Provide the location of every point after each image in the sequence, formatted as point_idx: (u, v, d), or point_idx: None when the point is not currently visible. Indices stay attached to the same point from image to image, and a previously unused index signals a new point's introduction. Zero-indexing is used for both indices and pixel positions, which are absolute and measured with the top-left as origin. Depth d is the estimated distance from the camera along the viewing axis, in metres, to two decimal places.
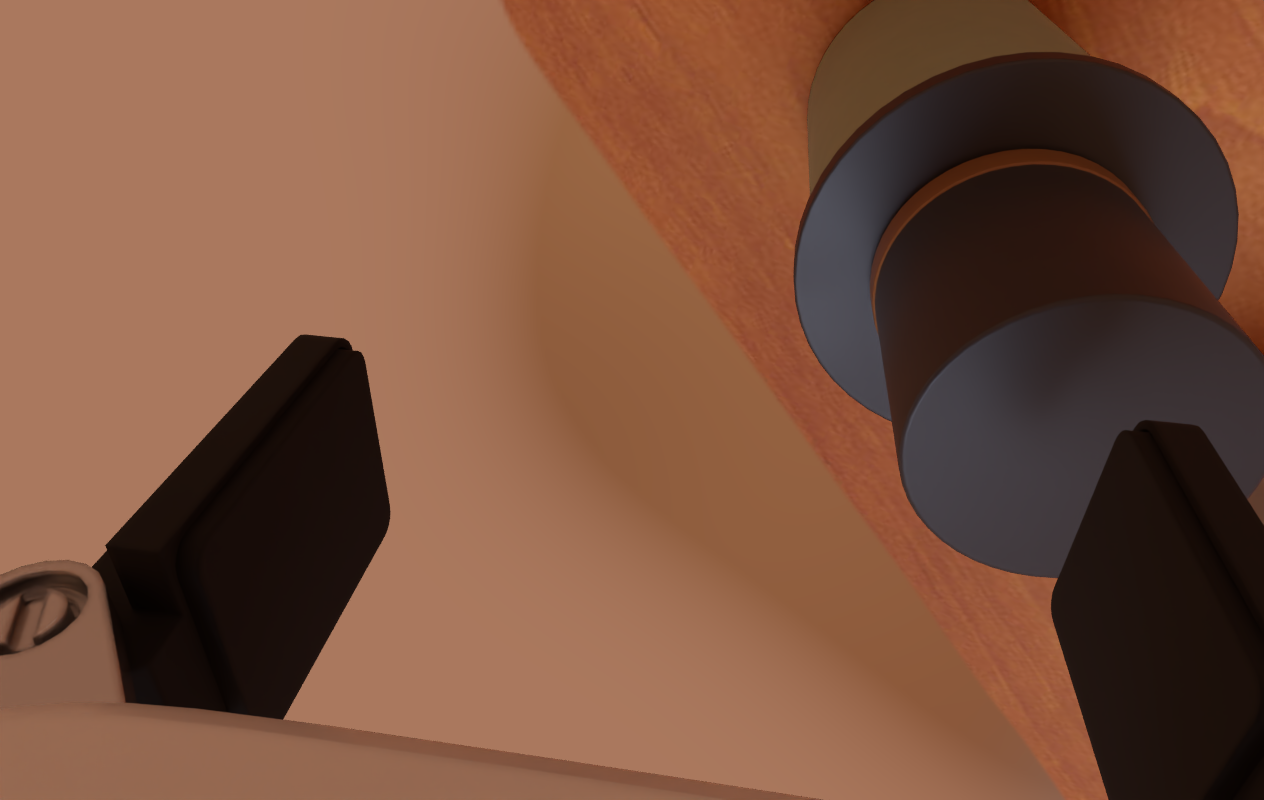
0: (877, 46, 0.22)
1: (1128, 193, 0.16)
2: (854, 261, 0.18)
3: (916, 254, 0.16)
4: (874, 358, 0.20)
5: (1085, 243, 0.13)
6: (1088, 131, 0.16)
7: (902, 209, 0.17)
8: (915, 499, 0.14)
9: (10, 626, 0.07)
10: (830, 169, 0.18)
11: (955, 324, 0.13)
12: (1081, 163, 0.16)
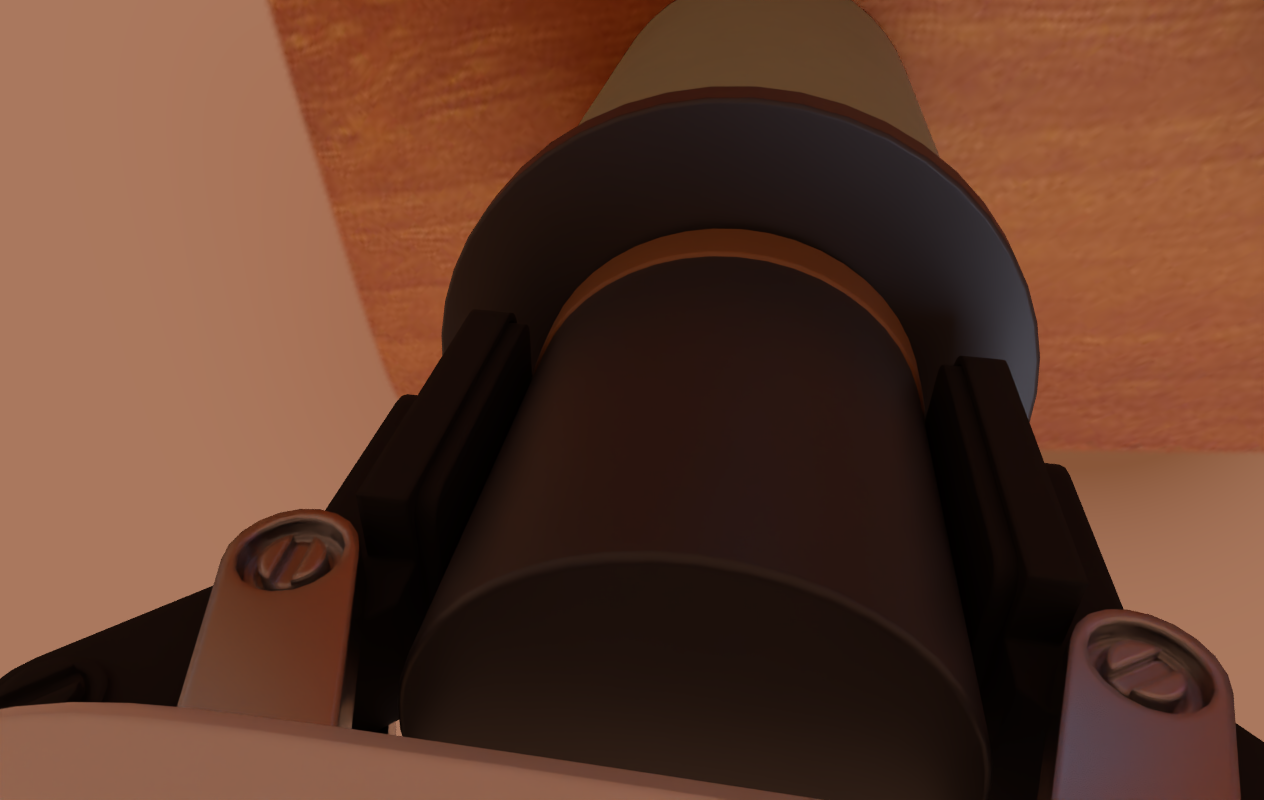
0: None
1: (641, 266, 0.11)
2: None
3: None
4: None
5: None
6: (573, 246, 0.12)
7: None
8: None
9: (278, 566, 0.08)
10: None
11: None
12: (581, 292, 0.11)
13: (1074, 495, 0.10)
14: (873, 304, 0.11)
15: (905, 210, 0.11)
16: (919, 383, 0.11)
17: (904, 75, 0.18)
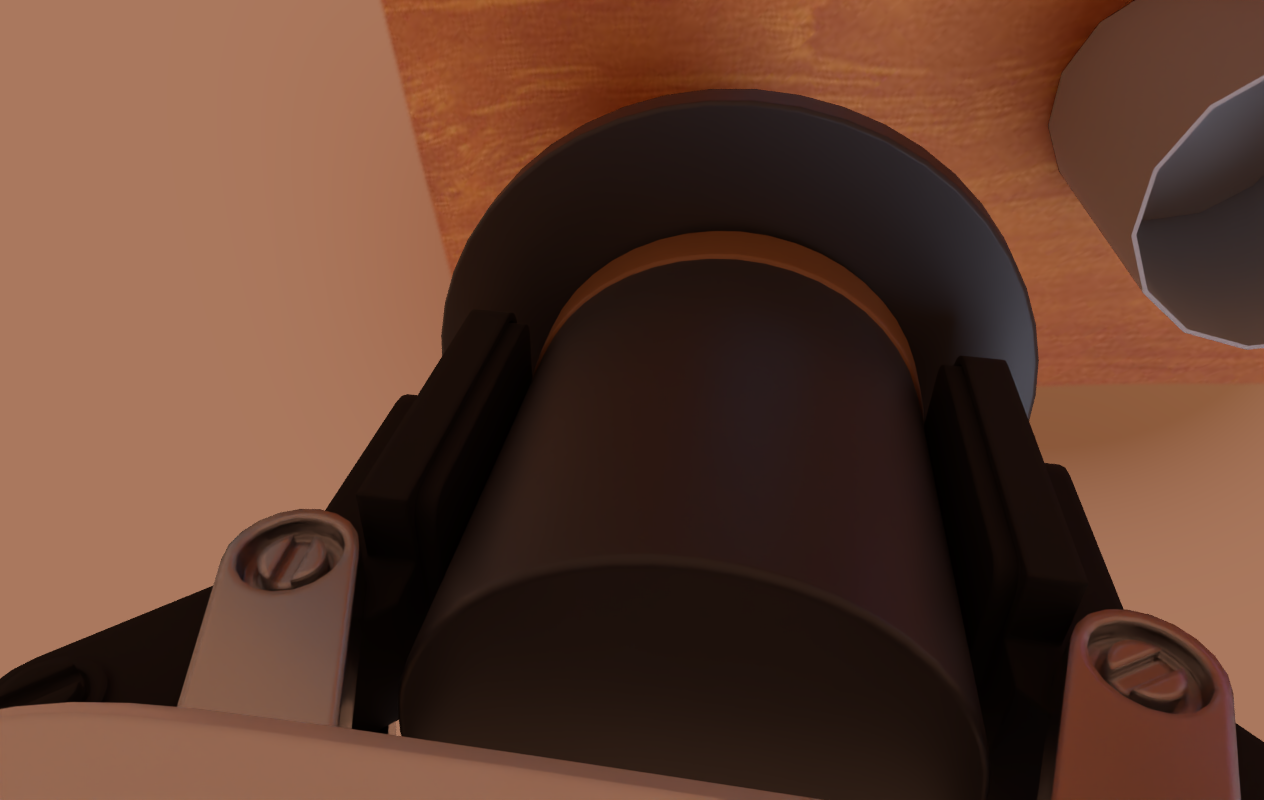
0: None
1: (641, 269, 0.11)
2: None
3: None
4: None
5: (467, 525, 0.09)
6: (572, 249, 0.12)
7: None
8: None
9: (279, 566, 0.08)
10: None
11: None
12: (581, 295, 0.11)
13: (1074, 495, 0.10)
14: (872, 306, 0.11)
15: (904, 212, 0.11)
16: (918, 385, 0.11)
17: None
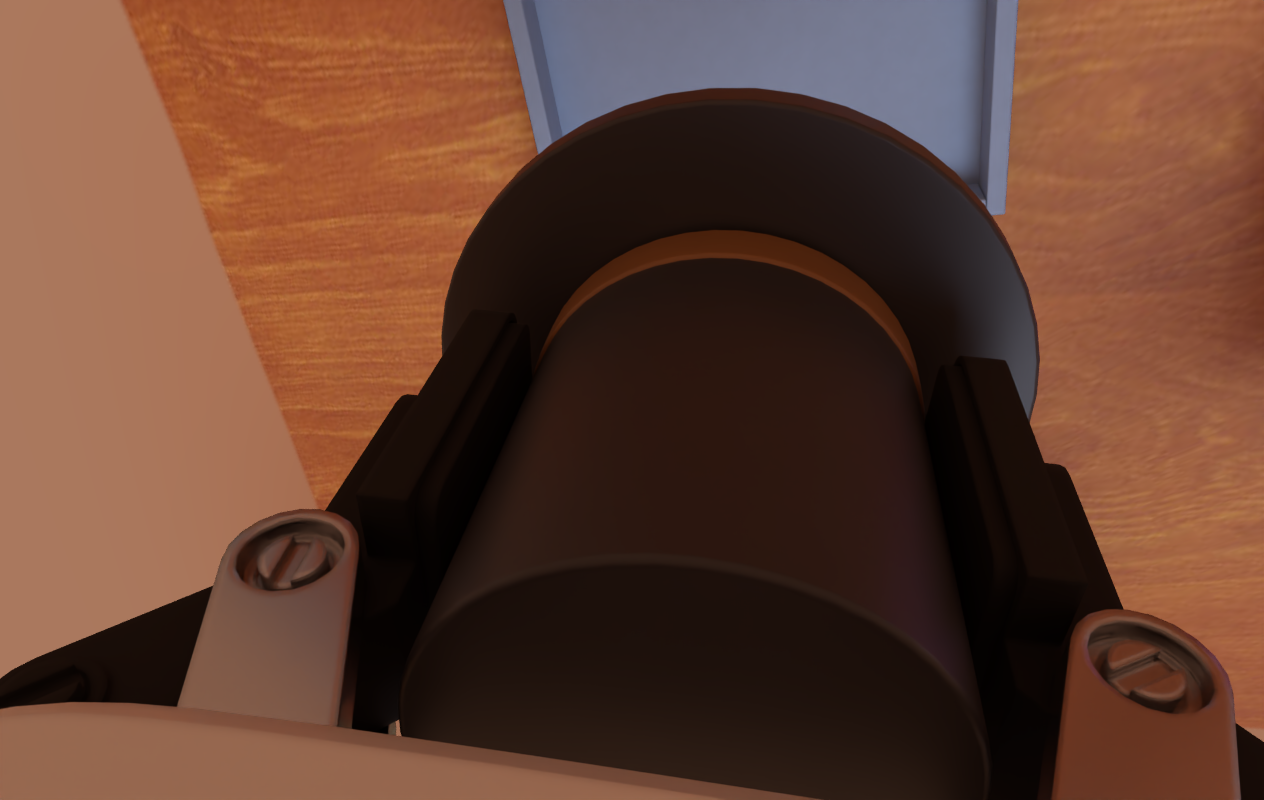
0: None
1: (641, 268, 0.11)
2: None
3: None
4: None
5: (467, 525, 0.09)
6: (573, 248, 0.12)
7: None
8: None
9: (279, 566, 0.08)
10: None
11: None
12: (581, 294, 0.11)
13: (1074, 495, 0.10)
14: (873, 306, 0.11)
15: (905, 212, 0.11)
16: (919, 385, 0.11)
17: None
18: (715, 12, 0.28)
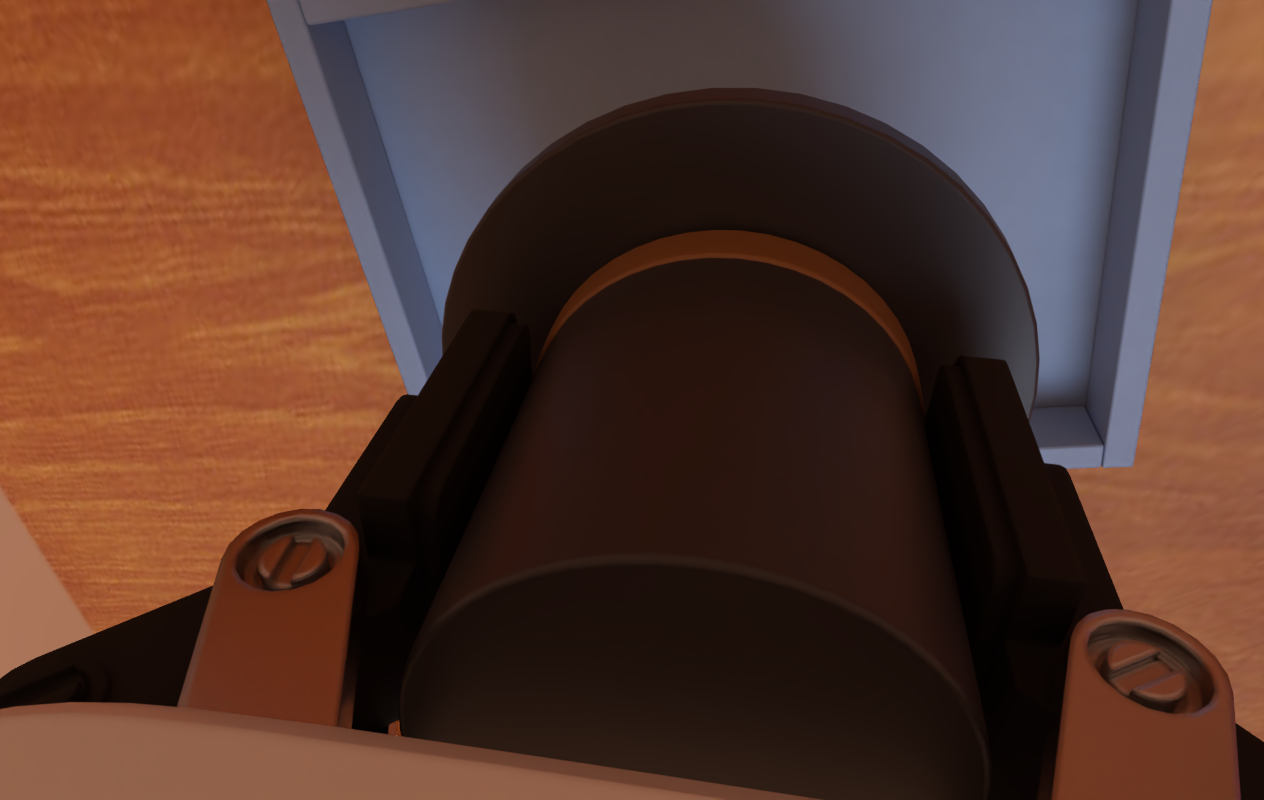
0: None
1: (641, 268, 0.11)
2: None
3: None
4: None
5: (467, 525, 0.09)
6: (573, 248, 0.12)
7: None
8: None
9: (279, 566, 0.08)
10: None
11: None
12: (581, 294, 0.11)
13: (1074, 495, 0.10)
14: (873, 305, 0.11)
15: (906, 211, 0.11)
16: (919, 384, 0.11)
17: None
18: None
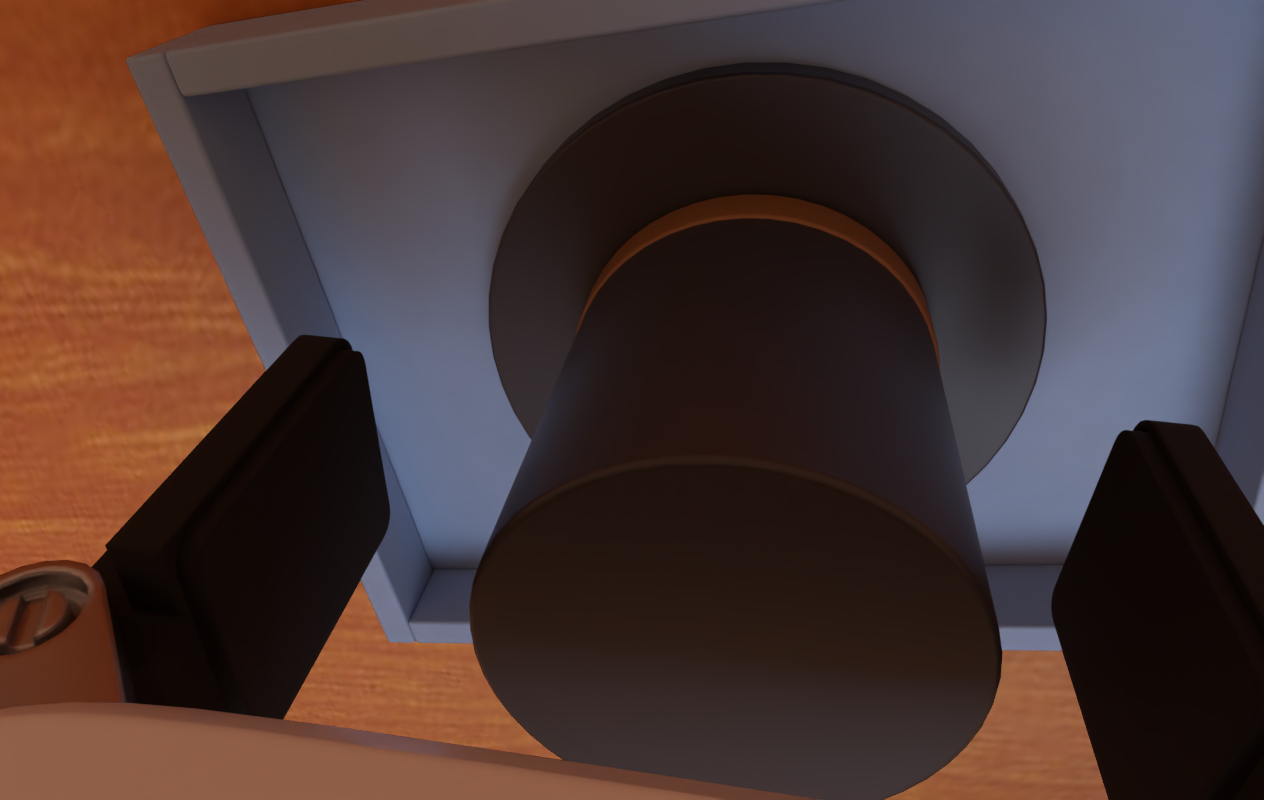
0: None
1: (679, 228, 0.12)
2: None
3: None
4: None
5: (526, 452, 0.10)
6: (613, 212, 0.13)
7: None
8: None
9: (10, 626, 0.07)
10: None
11: None
12: (622, 254, 0.12)
13: None
14: (893, 264, 0.12)
15: (924, 177, 0.12)
16: (935, 338, 0.12)
17: None
18: None
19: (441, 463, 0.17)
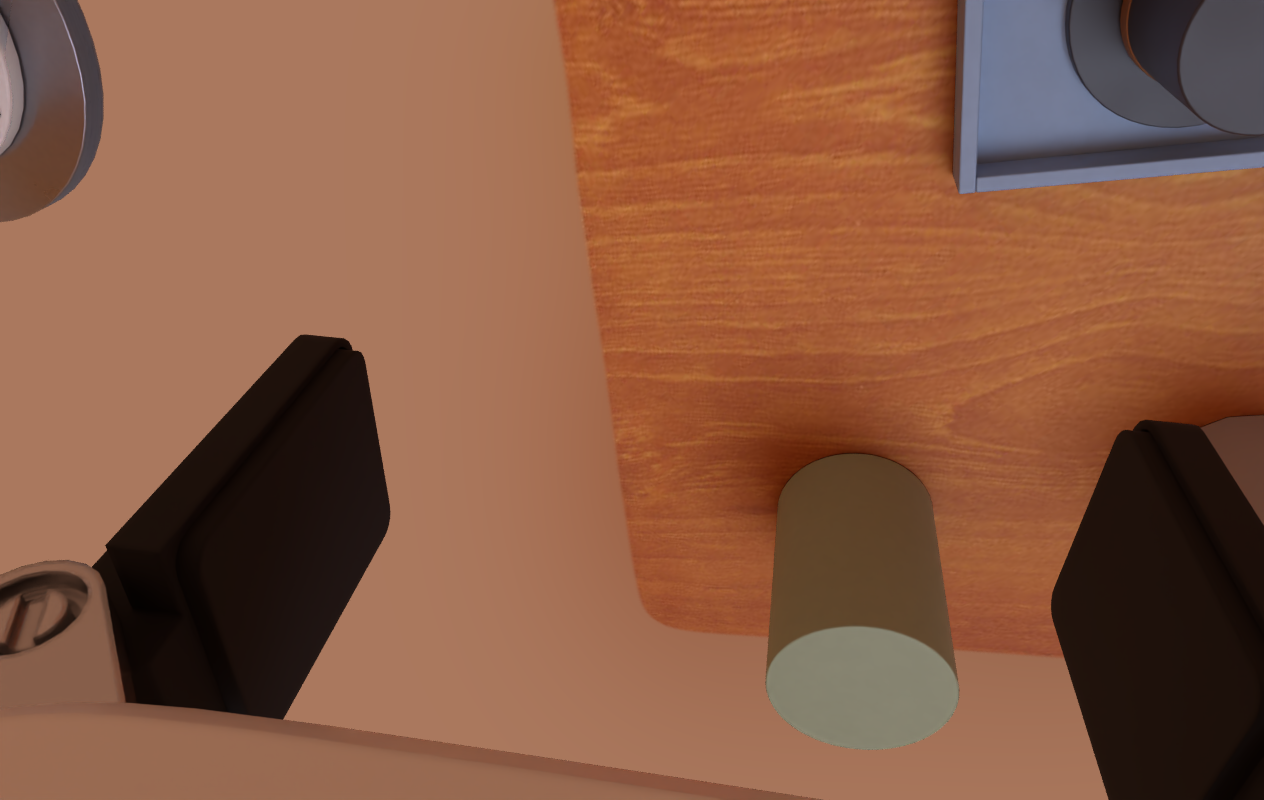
0: None
1: None
2: (1132, 78, 0.31)
3: (1142, 53, 0.28)
4: None
5: None
6: None
7: (1123, 40, 0.30)
8: (1246, 131, 0.26)
9: (10, 626, 0.07)
10: (1074, 65, 0.31)
11: (1169, 67, 0.26)
12: None
13: None
14: None
15: None
16: None
17: (928, 521, 0.41)
18: None
19: (1003, 89, 0.32)
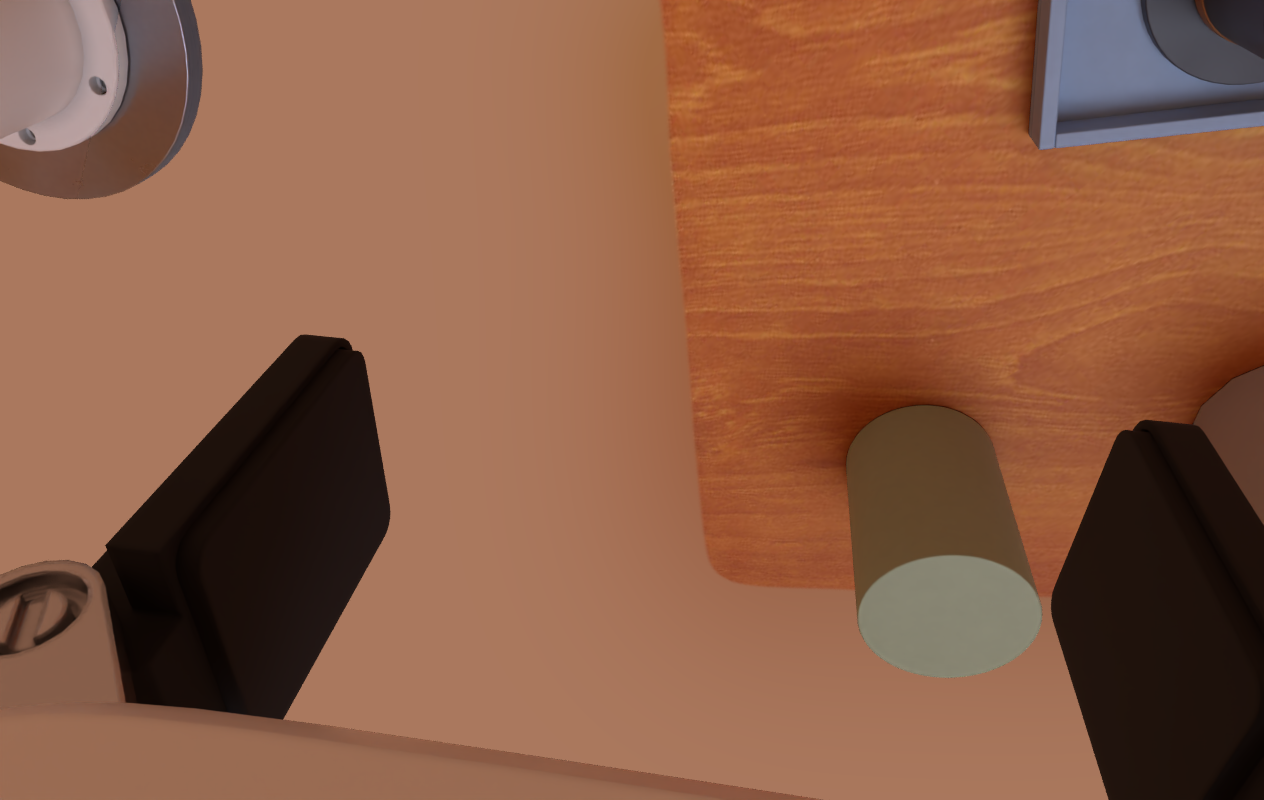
0: None
1: None
2: (1203, 38, 0.33)
3: (1219, 13, 0.31)
4: None
5: None
6: None
7: (1196, 2, 0.33)
8: None
9: (10, 626, 0.07)
10: (1149, 27, 0.34)
11: (1254, 22, 0.28)
12: None
13: None
14: None
15: None
16: None
17: (996, 465, 0.44)
18: None
19: (1080, 51, 0.35)
